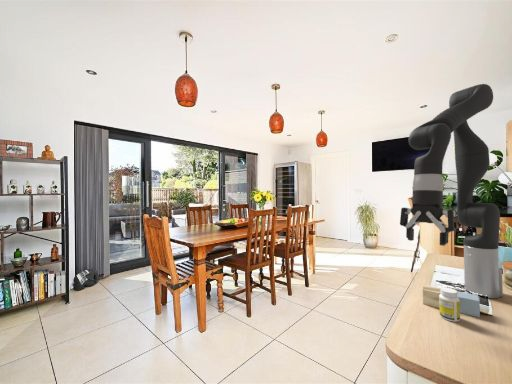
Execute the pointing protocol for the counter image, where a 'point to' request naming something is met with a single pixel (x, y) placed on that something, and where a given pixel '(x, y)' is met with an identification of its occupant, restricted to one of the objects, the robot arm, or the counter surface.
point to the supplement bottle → (449, 304)
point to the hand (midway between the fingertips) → (425, 242)
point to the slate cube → (469, 304)
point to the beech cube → (431, 296)
